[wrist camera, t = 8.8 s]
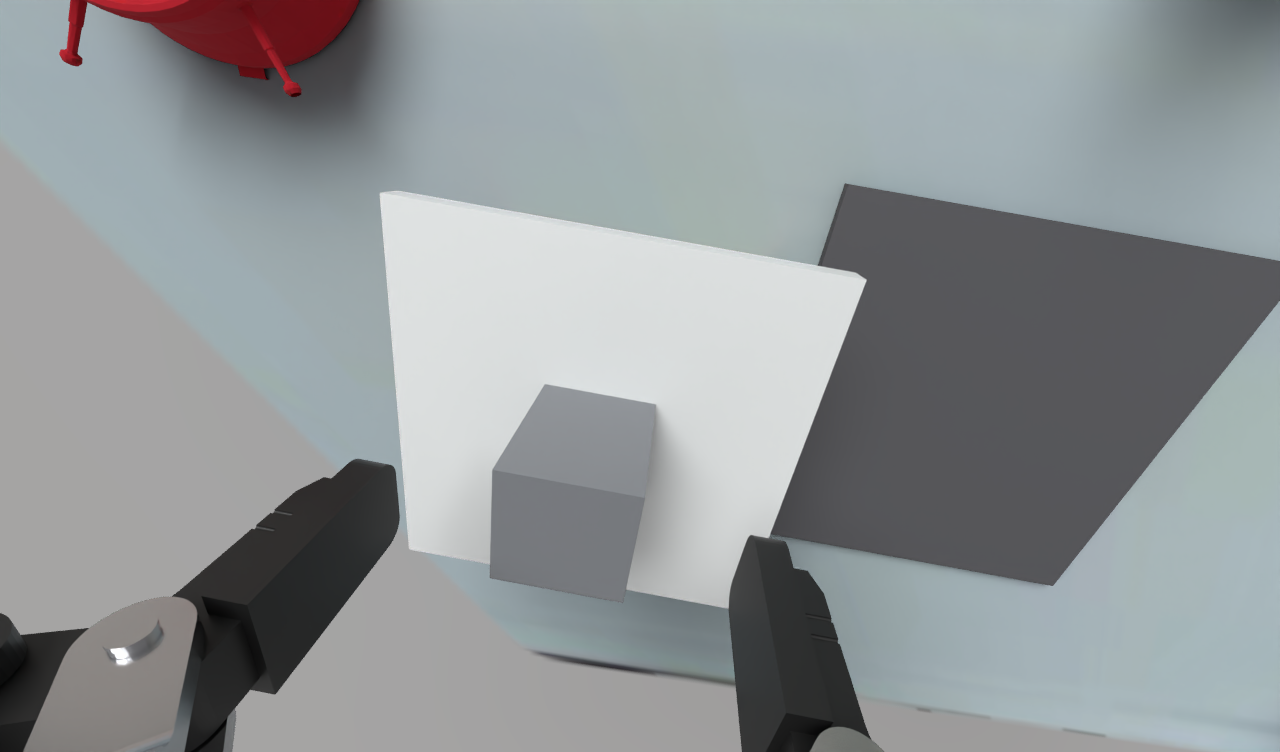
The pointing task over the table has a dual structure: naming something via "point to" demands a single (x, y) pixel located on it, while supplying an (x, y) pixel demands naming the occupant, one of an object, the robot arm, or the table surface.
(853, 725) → the robot arm
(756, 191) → the table surface
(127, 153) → the table surface
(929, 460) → the mat
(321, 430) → the table surface
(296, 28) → the alarm clock
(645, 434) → the lid
